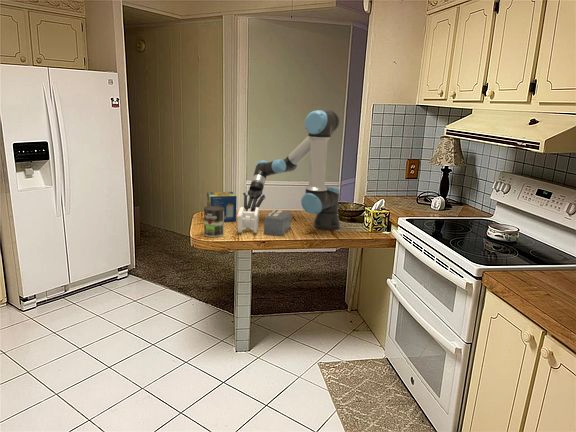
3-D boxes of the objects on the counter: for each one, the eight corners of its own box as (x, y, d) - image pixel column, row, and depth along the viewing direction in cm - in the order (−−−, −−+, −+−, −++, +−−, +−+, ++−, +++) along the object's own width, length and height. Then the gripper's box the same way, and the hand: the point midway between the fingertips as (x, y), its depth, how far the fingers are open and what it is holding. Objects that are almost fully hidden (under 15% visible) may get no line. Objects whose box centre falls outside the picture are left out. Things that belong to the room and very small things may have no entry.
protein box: (206, 218, 258) (206, 192, 254) (232, 216, 264) (232, 191, 260) (210, 223, 249) (209, 196, 245) (236, 221, 254) (237, 195, 250)
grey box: (290, 227, 248) (291, 210, 245) (282, 236, 231) (282, 218, 228) (273, 225, 250) (273, 208, 248) (263, 233, 233) (264, 216, 231)
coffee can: (218, 238, 223) (218, 211, 219) (200, 235, 226) (200, 209, 222) (227, 232, 233) (227, 206, 229) (209, 230, 235) (209, 204, 232)
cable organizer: (256, 235, 230) (257, 214, 226) (236, 234, 230) (237, 213, 226) (258, 226, 244) (259, 206, 241) (239, 225, 244) (239, 205, 240)
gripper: (269, 189, 253) (259, 224, 241) (248, 187, 256) (237, 222, 244) (267, 181, 246) (257, 217, 235) (245, 179, 249) (234, 215, 238)
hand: (247, 220), depth 240 cm, fingers closed
